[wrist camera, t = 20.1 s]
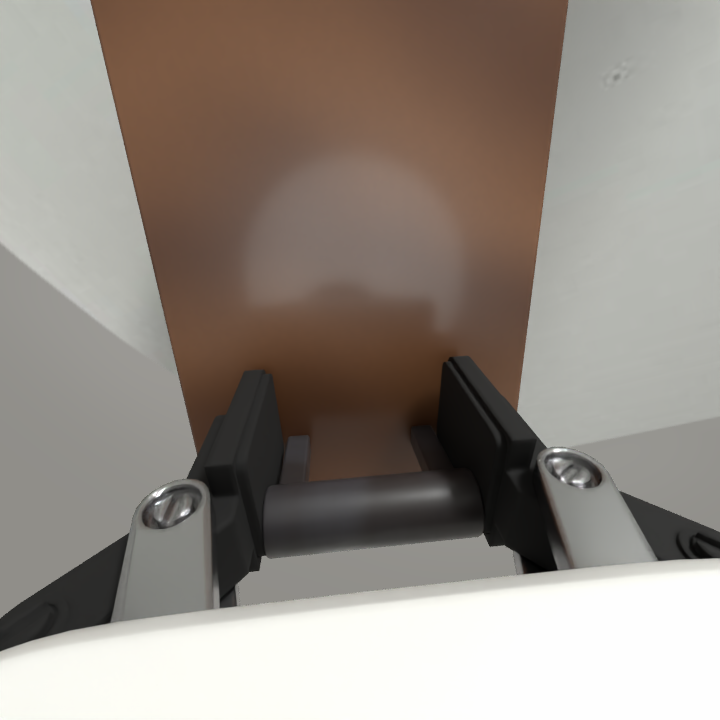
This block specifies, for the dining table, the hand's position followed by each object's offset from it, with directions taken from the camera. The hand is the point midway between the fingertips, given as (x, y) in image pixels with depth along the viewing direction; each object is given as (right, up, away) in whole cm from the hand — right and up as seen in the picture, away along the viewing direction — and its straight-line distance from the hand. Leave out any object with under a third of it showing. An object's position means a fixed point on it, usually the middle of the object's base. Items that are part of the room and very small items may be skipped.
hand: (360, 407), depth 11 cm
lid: (0, +4, 0) cm, 4 cm away
